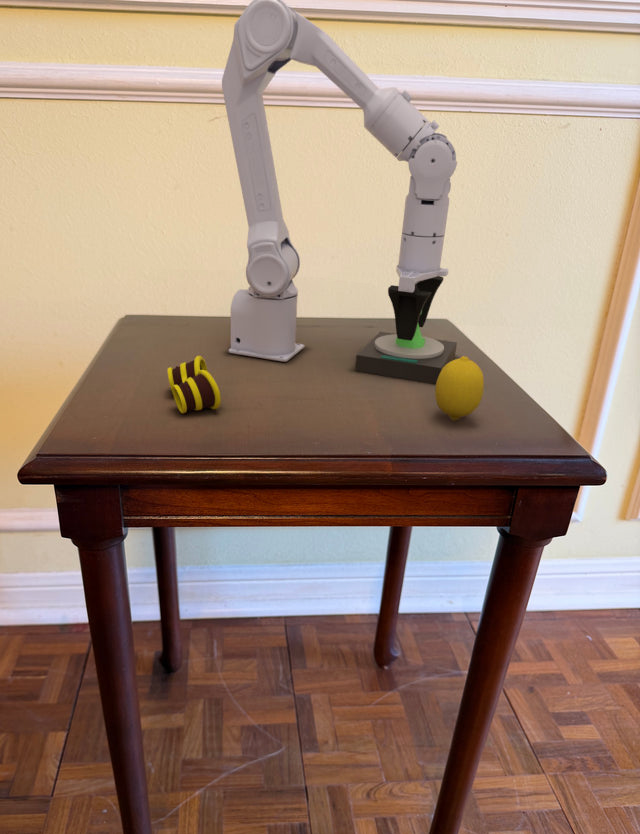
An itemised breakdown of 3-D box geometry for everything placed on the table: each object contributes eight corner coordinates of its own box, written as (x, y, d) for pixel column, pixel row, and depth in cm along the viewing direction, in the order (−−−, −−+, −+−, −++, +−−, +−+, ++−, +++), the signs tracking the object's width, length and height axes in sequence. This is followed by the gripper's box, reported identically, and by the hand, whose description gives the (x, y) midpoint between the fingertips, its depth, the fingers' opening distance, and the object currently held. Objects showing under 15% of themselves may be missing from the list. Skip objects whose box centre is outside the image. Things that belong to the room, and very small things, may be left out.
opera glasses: (171, 394, 89) (162, 359, 87) (210, 384, 90) (202, 349, 88) (182, 424, 81) (172, 386, 79) (224, 413, 82) (216, 375, 79)
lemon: (478, 431, 80) (490, 366, 76) (430, 426, 81) (440, 361, 77) (476, 413, 85) (487, 351, 81) (431, 409, 86) (440, 347, 82)
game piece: (421, 339, 102) (427, 299, 99) (427, 348, 98) (433, 307, 95) (392, 339, 101) (397, 298, 98) (397, 348, 98) (402, 306, 95)
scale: (355, 371, 97) (356, 350, 96) (378, 346, 108) (380, 327, 107) (438, 384, 94) (442, 363, 92) (454, 357, 104) (457, 338, 103)
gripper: (442, 244, 85) (428, 350, 92) (461, 229, 97) (447, 323, 103) (387, 239, 87) (377, 342, 94) (412, 225, 99) (401, 317, 106)
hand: (410, 332), depth 99 cm, fingers open, 7 cm apart
